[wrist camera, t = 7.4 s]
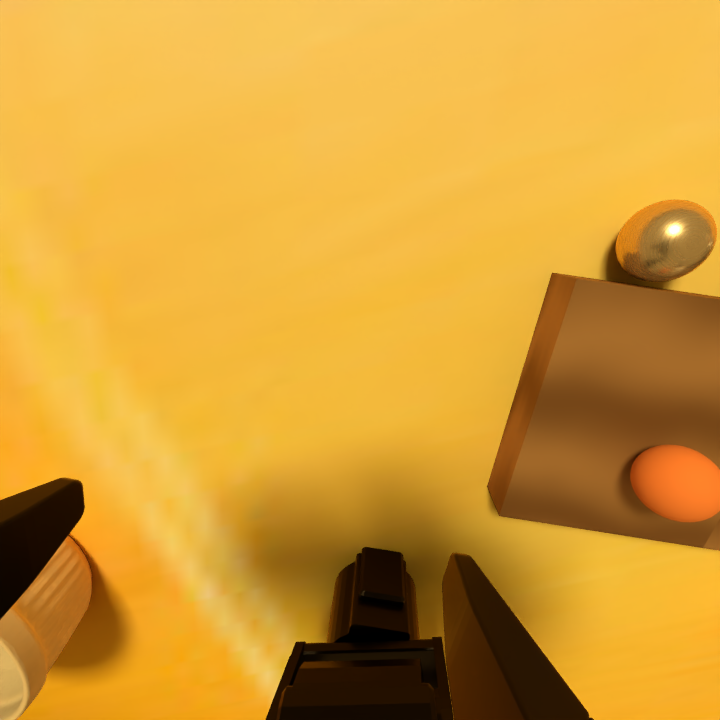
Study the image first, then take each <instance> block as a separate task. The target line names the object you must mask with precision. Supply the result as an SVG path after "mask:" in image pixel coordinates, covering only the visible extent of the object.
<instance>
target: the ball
mask: <svg viewBox="0 0 720 720" xmlns="http://www.w3.org/2000/svg"><path fill="white" fill-rule="evenodd" d="M630 480H631V484H632V487H633V490H634V492H635V494H636V495H637V497H638V498H639V499H640V501H641V502H642V503H643V504H644V505H645V506H646V507H648V508H649V509H650V510H652V511H653V512H655V513H656V514H658V515H660V516H662V517H664V518H667V519H670V520H674V521H678V522H699V521H703V520H706V519H709V518H711V517H713V516H714V515H716V514H717V513H718V512H719V511H720V469H719V468H718V467H717V466H716V465H715V464H714V463H713V462H712V461H711V460H710V459H709V458H707V457H706V456H704V455H703V454H701V453H699V452H698V451H695V450H693V449H690V448H687V447H684V446H679V445H659V446H655V447H652V448H649V449H647V450H645V451H644V452H642V453H641V454H640V455H639V456H638V457H637V458H636V459H635V461H634V462H633V464H632V467H631V471H630Z"/></svg>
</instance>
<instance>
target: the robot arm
mask: <svg viewBox="0 0 720 720" xmlns="http://www.w3.org/2000/svg"><path fill="white" fill-rule="evenodd" d="M84 508H85V505H84V494H83V485H82V483H81V481H79V480H75V479H70V478H59V479H56V480H54V481H51V482H48V483H46V484H43V485H40V486H37V487H35V488H32V489H29V490H27V491H24V492H21V493H18V494H16V495H13V496H10V497H8V498H5V499H2V500H0V620H1V619H2V617H3V616H4V615H5V614H6V613H7V612H8V611H9V609H10V608H11V607H12V606H13V605H14V604H15V603H16V601H17V600H18V599H19V598H20V597H21V596H22V595H23V593H24V592H25V591H26V590H27V589H28V588H29V586H30V585H31V584H32V583H33V582H34V580H35V579H36V578H37V576H38V575H39V574H40V573H41V571H42V570H43V569H44V567H45V566H46V565H47V563H48V562H49V561H50V559H51V558H52V557H53V555H54V554H55V552H56V551H57V550H58V548H59V547H60V546H61V544H62V543H63V542H64V540H65V539H66V538H67V536H68V535H69V534H70V532H71V531H72V529H73V528H74V527H75V525H76V524H77V523H78V521H79V520H80V518H81V517H82V515H83V512H84ZM442 593H443V614H444V635H445V653H446V664H445V657H444V651H443V644H442V637H432V639H419V627H418V616H417V604H416V592H415V585H414V582H413V580H412V578H411V576H410V575H409V574H408V573H407V572H406V562H405V561H404V560H403V555H402V553H401V552H394V551H388V550H382V549H375V548H369V547H364V548H363V549H362V553H359V554H357V556H356V561H355V562H354V563H352V564H350V565H348V566H347V567H345V568H344V569H343V570H342V571H341V572H340V573H339V575H338V577H337V579H336V582H335V588H334V595H333V602H332V609H331V616H330V623H329V630H328V637H327V643H306V642H296V643H295V646H294V649H293V651H292V654H291V656H290V657H289V660H288V662H287V665H286V667H285V670H284V673H283V675H282V678H281V681H280V683H279V686H278V688H277V691H276V694H275V696H274V699H273V702H272V704H271V707H270V709H269V712H268V715H267V717H266V720H594V719H593V718H589V713H588V712H587V710H586V709H585V708H584V706H583V705H582V704H581V702H580V701H579V700H578V698H577V697H576V696H575V694H574V693H573V692H572V690H571V689H570V688H569V686H568V685H567V684H566V682H565V681H564V680H563V678H562V677H561V676H560V674H559V673H558V672H557V670H556V669H555V668H554V666H553V665H552V664H551V662H550V661H549V660H548V658H547V657H546V656H545V654H544V653H543V652H542V651H541V649H540V648H539V647H538V645H537V644H536V643H535V641H534V640H533V639H532V637H531V636H530V635H529V633H528V632H527V631H526V629H525V628H524V627H523V625H522V624H521V623H520V621H519V620H518V619H517V617H516V616H515V615H514V613H513V612H512V611H511V609H510V608H509V607H508V605H507V604H506V603H505V601H504V600H503V599H502V597H501V596H500V595H499V593H498V592H497V591H496V589H495V588H494V587H493V585H492V584H491V583H490V581H489V580H488V579H487V577H486V576H485V575H484V573H483V572H482V571H481V569H480V568H479V567H478V565H477V564H476V563H475V561H474V560H473V559H472V558H471V557H470V556H469V555H465V554H460V553H452V555H451V556H450V559H449V562H448V565H447V568H446V571H445V574H444V577H443V582H442ZM446 665H447V671H446ZM447 673H448V677H447ZM448 680H449V684H448ZM449 687H450V691H449ZM450 694H451V697H450ZM451 701H452V704H451ZM452 708H453V711H452ZM453 714H454V718H453Z"/></svg>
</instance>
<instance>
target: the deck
mask: <svg viewBox="0 0 720 720" xmlns="http://www.w3.org/2000/svg"><path fill="white" fill-rule="evenodd" d="M659 445H679V446H684V447H687V448H690V449H693V450H695V451H698V452H699V453H701V454H703V455H704V456H706V457H707V458H709V459H710V460H711V461H712V462H713V463H714V464H715V465H716V466H717V467H718V468H719V469H720V297H715V296H708V295H701V294H694V293H687V292H680V291H674V290H667V289H660V288H653V287H646V286H639V285H632V284H625V283H619V282H612V281H605V280H598V279H591V278H584V277H577V276H571V275H564V274H557V273H552V276H551V279H550V282H549V285H548V289H547V292H546V295H545V299H544V302H543V305H542V308H541V312H540V315H539V318H538V322H537V325H536V328H535V331H534V335H533V338H532V341H531V345H530V348H529V351H528V355H527V358H526V361H525V364H524V368H523V371H522V374H521V378H520V381H519V384H518V387H517V391H516V394H515V397H514V401H513V404H512V407H511V410H510V414H509V417H508V420H507V424H506V427H505V430H504V434H503V437H502V440H501V443H500V447H499V450H498V453H497V457H496V460H495V463H494V466H493V470H492V473H491V476H490V480H489V483H488V486H487V487H488V489H489V492H490V494H491V497H492V499H493V502H494V504H495V507H496V509H497V512H498V514H499V516H503V517H510V518H516V519H522V520H529V521H535V522H541V523H548V524H554V525H561V526H567V527H573V528H580V529H586V530H592V531H599V532H605V533H611V534H618V535H624V536H631V537H637V538H643V539H650V540H656V541H662V542H669V543H675V544H681V545H688V546H694V547H701V548H707V549H713V550H720V511H719V512H718V513H717V514H716V515H714V516H713V517H711V518H709V519H706V520H703V521H699V522H678V521H674V520H670V519H667V518H664V517H662V516H660V515H658V514H656V513H655V512H653V511H652V510H650V509H649V508H648V507H646V506H645V505H644V504H643V503H642V502H641V501H640V499H639V498H638V497H637V495H636V494H635V492H634V490H633V487H632V484H631V480H630V471H631V467H632V464H633V462H634V461H635V459H636V458H637V457H638V456H639V455H640V454H641V453H642V452H644V451H645V450H647V449H649V448H652V447H655V446H659Z"/></svg>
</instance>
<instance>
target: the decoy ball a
mask: <svg viewBox="0 0 720 720" xmlns="http://www.w3.org/2000/svg"><path fill="white" fill-rule="evenodd" d="M716 238H717V228H716V224H715V221H714V219H713V217H712V215H711V214H710V213H709V212H708V211H707V210H706V209H705V208H704V207H702V206H700V205H698V204H696V203H693V202H690V201H685V200H666V201H661V202H657V203H654V204H652V205H649V206H647V207H645V208H643V209H642V210H640V211H638V212H637V213H636V214H634V215H633V216H632V217H631V218H630V219H629V220H628V221H627V222H626V223H625V224H624V226H623V227H622V229H621V231H620V232H619V235H618V237H617V241H616V256H617V259H618V262H619V264H620V265H621V267H622V268H623V269H624V270H625V271H626V272H627V273H628V274H630V275H632V276H633V277H635V278H638V279H641V280H645V281H652V282H662V281H669V280H673V279H676V278H679V277H682V276H684V275H686V274H688V273H690V272H692V271H693V270H695V269H696V268H697V267H699V266H700V265H701V264H702V263H703V262H704V261H705V260H706V259H707V258H708V256H709V255H710V253H711V252H712V250H713V248H714V245H715V242H716Z"/></svg>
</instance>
